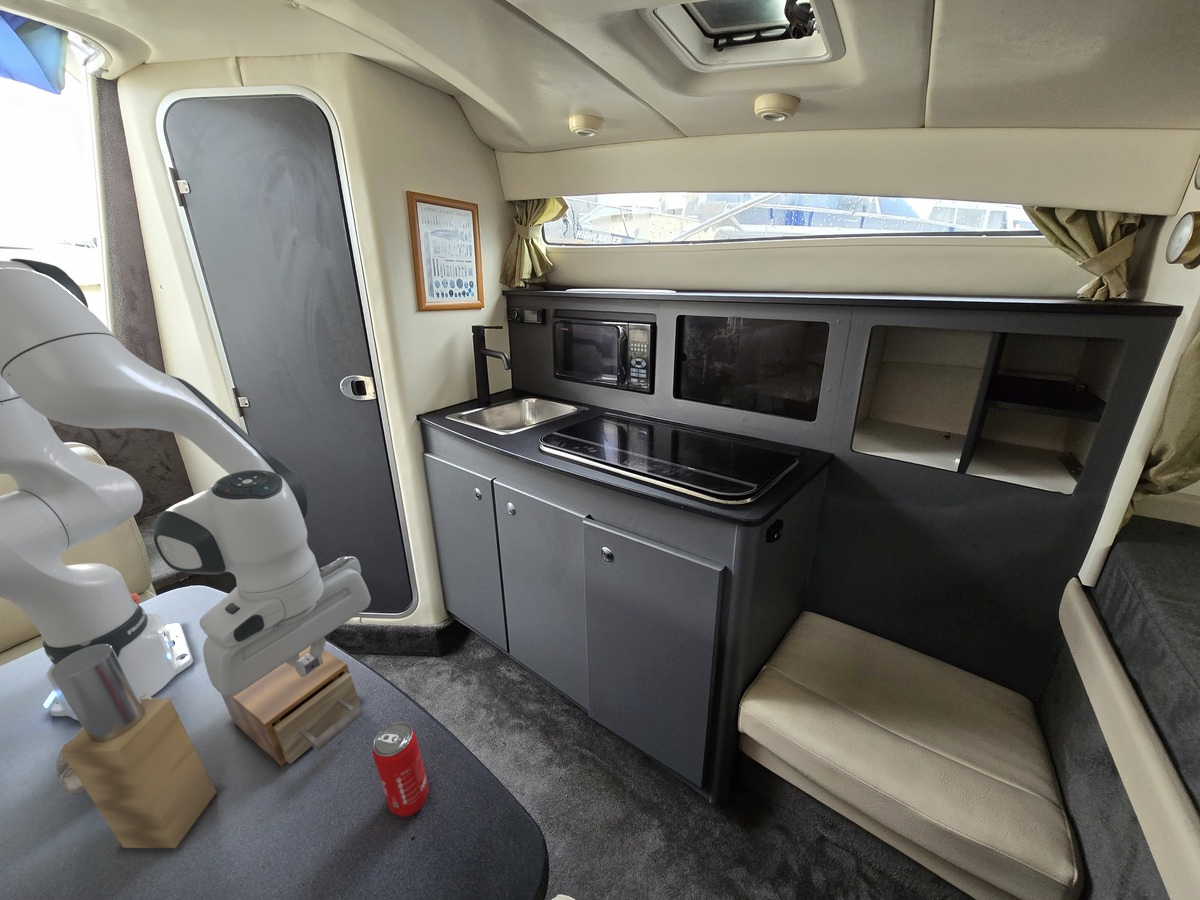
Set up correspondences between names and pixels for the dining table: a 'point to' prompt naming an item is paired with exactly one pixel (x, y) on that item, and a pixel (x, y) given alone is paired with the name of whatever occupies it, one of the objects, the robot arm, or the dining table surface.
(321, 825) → the dining table surface
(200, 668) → the dining table surface
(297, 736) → the drawer
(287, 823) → the dining table surface
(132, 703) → the tin
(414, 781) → the beverage can
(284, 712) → the cabinet
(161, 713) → the wooden block
